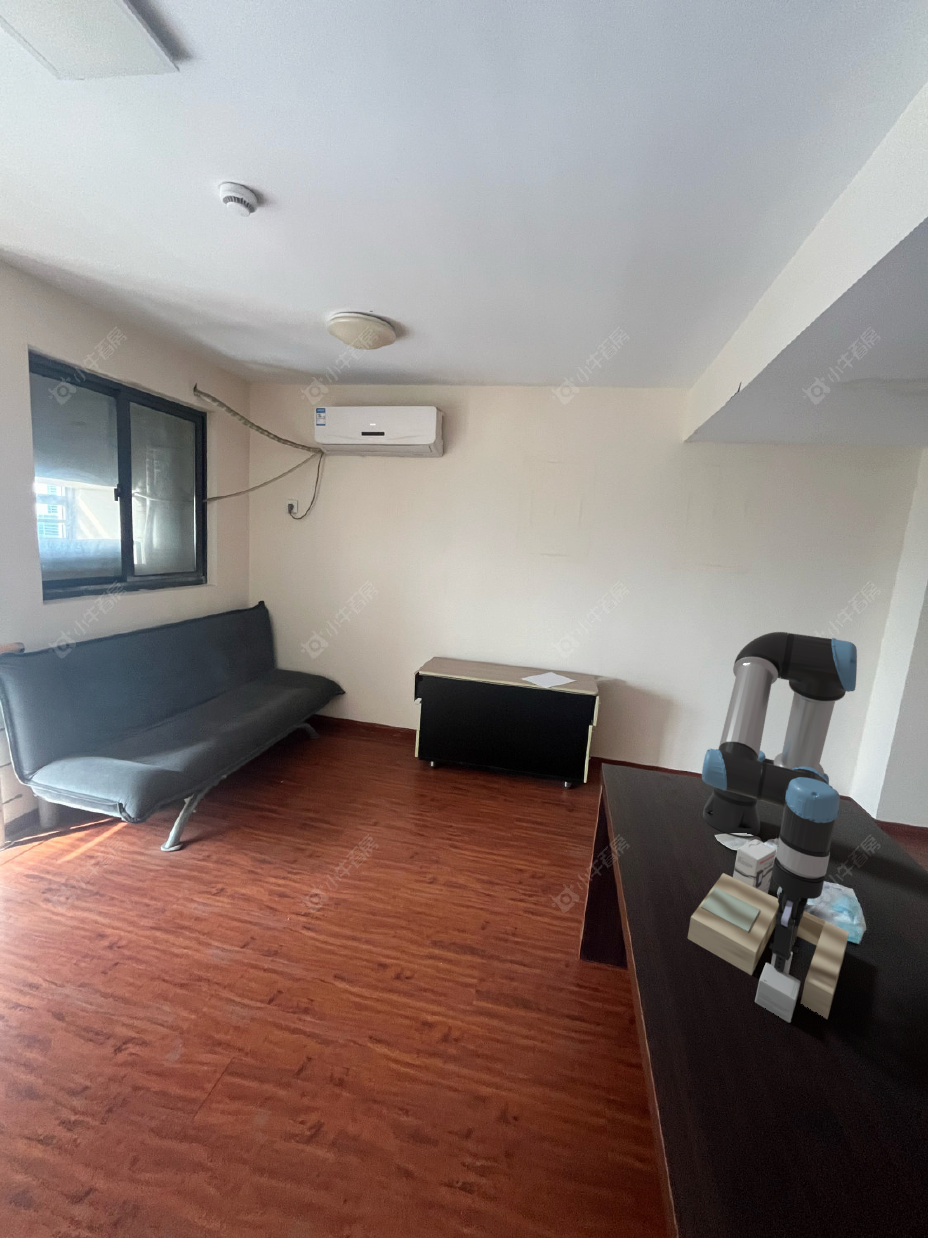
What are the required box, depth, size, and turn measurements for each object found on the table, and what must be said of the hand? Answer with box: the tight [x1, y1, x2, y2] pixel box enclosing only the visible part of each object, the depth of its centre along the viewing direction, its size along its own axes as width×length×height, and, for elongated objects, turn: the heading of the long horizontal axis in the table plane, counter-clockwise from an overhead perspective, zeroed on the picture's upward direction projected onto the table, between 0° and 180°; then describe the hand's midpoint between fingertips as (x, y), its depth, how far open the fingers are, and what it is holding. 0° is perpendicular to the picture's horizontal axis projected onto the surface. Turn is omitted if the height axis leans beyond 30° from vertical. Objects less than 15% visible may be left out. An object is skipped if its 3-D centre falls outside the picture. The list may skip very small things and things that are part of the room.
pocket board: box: [687, 872, 850, 1020], centre depth 103 cm, size 21×24×5 cm
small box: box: [754, 962, 801, 1024], centre depth 90 cm, size 6×6×5 cm
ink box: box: [732, 839, 777, 894], centre depth 118 cm, size 8×5×12 cm, turn 123°
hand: (777, 980), depth 93 cm, fingers closed
